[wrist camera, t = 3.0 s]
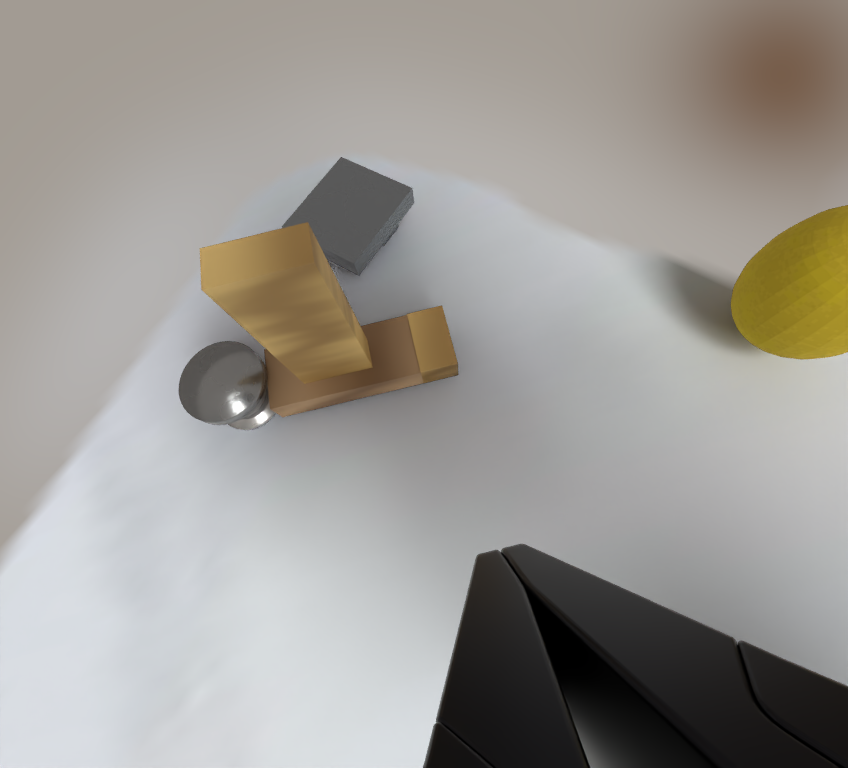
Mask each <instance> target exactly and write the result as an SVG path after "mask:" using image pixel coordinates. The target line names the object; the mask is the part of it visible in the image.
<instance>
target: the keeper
mask: <svg viewBox="0 0 848 768" xmlns="http://www.w3.org/2000/svg"><path fill="white" fill-rule="evenodd" d="M413 204H414V197H413V190H412V188H411V187H408V186H406V185H404V184H401V183H399V182H397V181H395V180H392V179H390V178H388V177H385V176H383V175H381V174H379V173H376V172H374V171H372V170H370V169H367V168H365V167H363V166H360V165H358V164H356V163H354V162H351V161H349V160H347V159H344V158H342V157H341V158H340V159H339V160H338V161H337V163H336V164H335V165H334V166H333V167H332V168H331V170H330V171H329V172H328V173H327V174H326V176H325V177H324V178H323V179H322V180H321V181H320V183H319V184H318V185H317V186H316V187H315V188H314V190H313V191H312V192H311V193H310V194H309V196H308V197H307V198H306V199H305V200H304V201H303V203H302V204H301V205H300V206H299V207H298V208H297V210H296V211H295V212H294V213H293V214H292V216H291V217H290V218H289V219H288V220H287V221H286V223H285V224H284V225H283V226H282V228H286V227H290V226H294V225H298V224H302V223H306V222H308V223H309V225H310V227H311V229H312V231H313V233H314V235H315V237H316V239H317V241H318V243H319V245H320V247H321V249H322V251H323V253H324V255H325V257H326V259H328V260H330V261H332V262H334V263H336V264H338V265H339V266H341V267H343V268H345V269H347V270H349V271H351V272H353V273H355V274H357V275H360V273H361V272H362V271H363V270H364V268H365V267H366V266H367V264H368V263H369V262H370V260H371V259H372V258H373V256H374V255H375V254H376V252H377V251H378V250H379V248H380V247H381V246H382V245H383V246H384V245H385V244H386V242H387V241H388V240H389V238H390V237H391V236H392V234H393V233H394V232H395V230H396V229H397V228H398V223H399V222H400V221H401V220H402V218H403V217H404V216H405V214H406V213H407V212H408V210H409V209H410V208H411V206H412V205H413Z"/></svg>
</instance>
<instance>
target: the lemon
mask: <svg viewBox="0 0 848 768" xmlns="http://www.w3.org/2000/svg"><path fill="white" fill-rule="evenodd" d="M731 311H732V317H733V320H734V322H735V324H736V327H737V329H738V330H739V331H740V333H741V334H742V335H743V337H744V338H745V339H747V340H748V341H749V342H750V343H751V344H753V345H754V346H756V347H758V348H759V349H761V350H763V351H765V352H768V353H771V354H774V355H777V356H780V357H786V358H795V359H815V358H825V357H832V356H836V355H840V354H843V353H846V352H848V205H846V206H841V207H837V208H832V209H828V210H826V211H823V212H821V213H818V214H816V215H814V216H812V217H810V218H808V219H806V220H804V221H802V222H800V223H798V224H796V225H794V226H792V227H790V228H789V229H787V230H785V231H784V232H782V233H781V234H779V235H778V236H776V237H775V238H774V239H772V240H771V241H770V242H769V243H768V244H767V245H765V247H763V248H762V249H761V250H760V251H759V252H758V253H757V254H756V255H755V256H754V257H753V258H752V259H751V260H750V261H749V262H748V263H747V265H746V266H745V268H744V269H743V271H742V273H741V274H740V276H739V278H738V279H737V281H736V283H735V285H734V288H733V293H732V298H731Z"/></svg>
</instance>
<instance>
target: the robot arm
mask: <svg viewBox="0 0 848 768" xmlns="http://www.w3.org/2000/svg"><path fill="white" fill-rule="evenodd" d="M423 768H848V686H846V685H844V684H841V683H839V682H837V681H834V680H832V679H830V678H827V677H825V676H823V675H820V674H818V673H816V672H813V671H811V670H809V669H806V668H804V667H802V666H799V665H797V664H794V663H792V662H790V661H787V660H785V659H783V658H780V657H778V656H776V655H774V654H771V653H769V652H767V651H765V650H762V649H760V648H758V647H756V646H753V645H751V644H749V643H747V642H744V641H739V642H738V645H737V642H736V640H735V639H734V638H733V637H731V636H728V635H726V634H724V633H722V632H719V631H717V630H715V629H713V628H711V627H708V626H706V625H704V624H702V623H699V622H697V621H695V620H693V619H690V618H688V617H686V616H684V615H682V614H679V613H677V612H675V611H673V610H670V609H668V608H666V607H664V606H661V605H659V604H657V603H655V602H653V601H650V600H648V599H646V598H644V597H641V596H639V595H637V594H635V593H632V592H630V591H628V590H626V589H623V588H621V587H619V586H617V585H615V584H612V583H610V582H608V581H606V580H603V579H601V578H599V577H597V576H594V575H592V574H590V573H588V572H586V571H583V570H581V569H579V568H577V567H574V566H572V565H570V564H568V563H565V562H563V561H561V560H559V559H556V558H554V557H552V556H550V555H548V554H545V553H543V552H541V551H539V550H536V549H534V548H532V547H530V546H527V545H525V544H518V545H514V546H510V547H506V548H503V549H502V550H501V552H500V551H498V550H494V551H490V552H486V553H482V554H478V555H477V557H476V560H475V564H474V568H473V572H472V576H471V580H470V584H469V588H468V592H467V596H466V600H465V604H464V608H463V612H462V616H461V620H460V624H459V628H458V632H457V637H456V641H455V645H454V649H453V653H452V657H451V661H450V665H449V669H448V673H447V677H446V681H445V685H444V689H443V693H442V697H441V701H440V705H439V709H438V713H437V717H436V724H435V725H434V726H433V730H432V734H431V738H430V742H429V746H428V750H427V754H426V758H425V762H424V765H423Z"/></svg>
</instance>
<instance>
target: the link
mask: <svg viewBox="0 0 848 768" xmlns="http://www.w3.org/2000/svg"><path fill="white" fill-rule="evenodd" d="M200 264H201V289H202V291H204V292H205V293H206V294H207V295H208V296H209V297H210V298H211V299H212V300H213V301H214V302H216V303H217V304H218V305H219V306H220V307H221V308H222V309H223V310H224V311H225V312H226V313H228V314H229V315H230V316H231V317H232V318H233V319H234V320H235V321H236V322H237V323H238V324H240V325H241V326H242V327H243V328H244V329H245V330H246V331H247V332H248V333H249V334H250V335H252V336H253V337H254V338H255V339H256V340H257V341H258V342H259V343H260V344H261V345H262V346H264V347H265V348H266V349H264V353H265V363H266V370H267V384H268V394H269V405H270V409H271V410H272V411H274V412H275V413H277V414H279V415H280V416H282V417H285V416H289V415H293V414H298V413H302V412H306V411H310V410H314V409H318V408H323V407H327V406H331V405H335V404H339V403H343V402H348V401H352V400H356V399H360V398H364V397H368V396H373V395H377V394H381V393H385V392H389V391H393V390H398V389H402V388H406V387H410V386H414V385H418V384H422V383H427V382H431V381H435V380H439V379H443V378H447V377H452V376H456V375H458V363H457V359H456V355H455V352H454V348H453V344H452V340H451V337H450V333H449V329H448V326H447V322H446V318H445V315H444V311H443V307H442V306H438V307H434V308H430V309H426V310H421V311H417V312H413V313H409V314H407V315H405V316H401V317H397V318H393V319H389V320H384V321H380V322H376V323H372V324H368V325H364V326H360V324H359V322H358V320H357V318H356V316H355V314H354V312H353V310H352V309H351V307H350V305H349V303H348V301H347V299H346V297H345V295H344V293H343V291H342V289H341V287H340V285H339V283H338V281H337V279H336V277H335V275H334V273H333V271H332V269H331V267H330V265H329V263H328V261H327V259H326V257H325V255H324V253H323V251H322V249H321V247H320V245H319V243H318V241H317V239H316V237H315V235H314V233H313V231H312V229H311V227H310V225H309V223H308V222H306V223H302V224H298V225H294V226H290V227H286V228H282V229H277V230H273V231H269V232H265V233H261V234H257V235H253V236H249V237H245V238H241V239H237V240H232V241H228V242H224V243H220V244H216V245H212V246H208V247H204V248H200Z"/></svg>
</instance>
